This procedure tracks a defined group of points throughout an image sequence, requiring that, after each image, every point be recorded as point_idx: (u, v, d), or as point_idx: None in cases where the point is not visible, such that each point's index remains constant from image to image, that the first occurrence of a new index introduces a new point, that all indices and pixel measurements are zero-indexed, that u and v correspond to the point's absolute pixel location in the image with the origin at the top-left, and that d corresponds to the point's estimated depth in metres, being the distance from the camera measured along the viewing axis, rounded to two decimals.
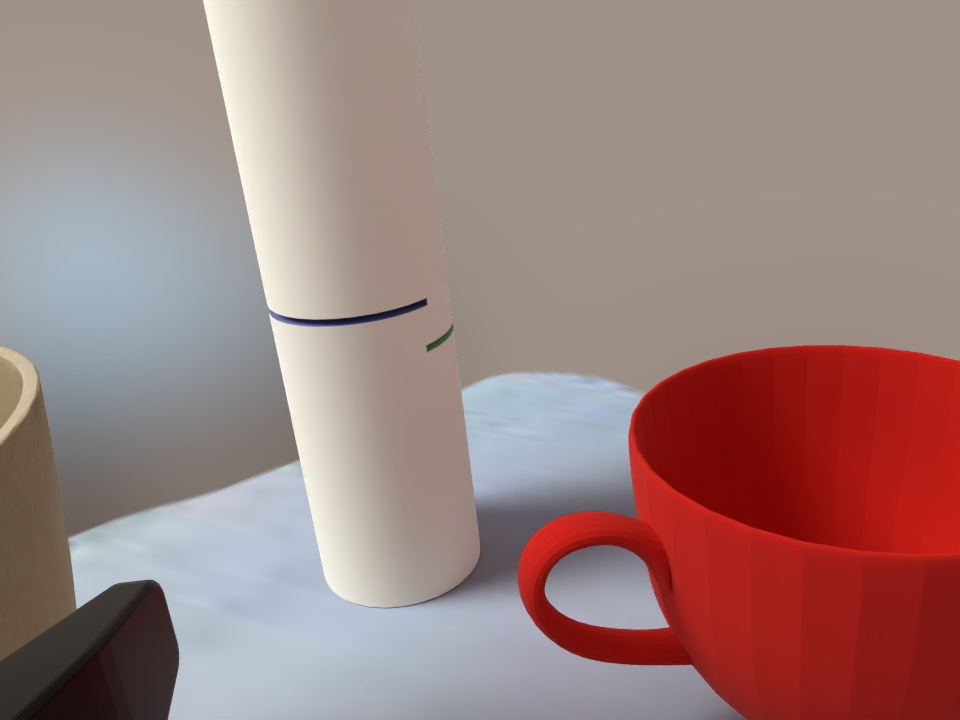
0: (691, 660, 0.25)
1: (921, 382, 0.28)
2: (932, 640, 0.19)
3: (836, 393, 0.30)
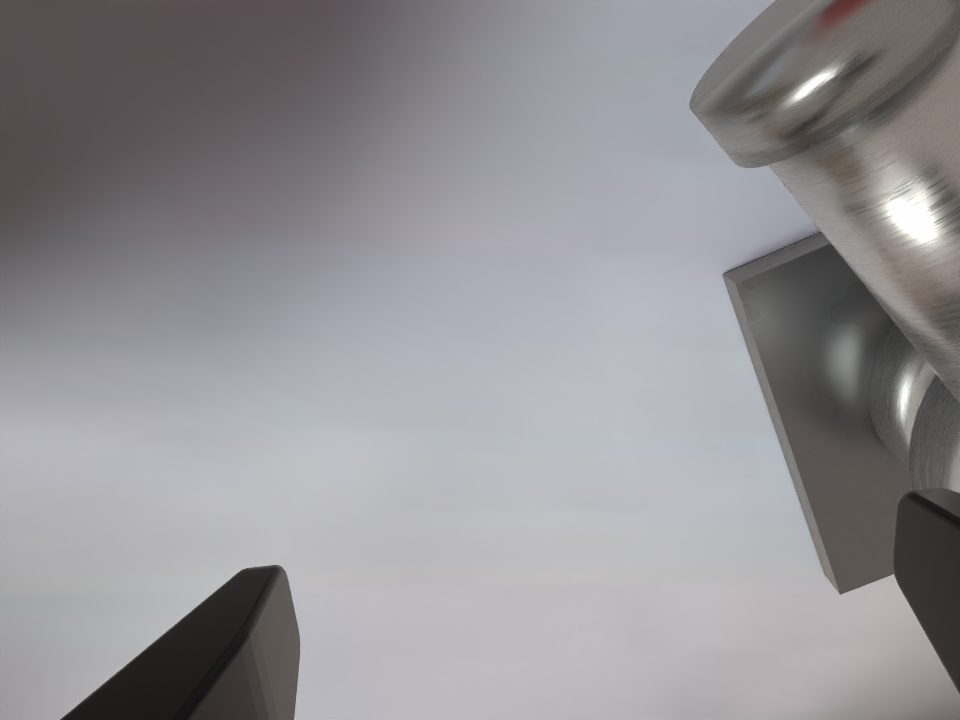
0: None
1: None
2: None
3: None
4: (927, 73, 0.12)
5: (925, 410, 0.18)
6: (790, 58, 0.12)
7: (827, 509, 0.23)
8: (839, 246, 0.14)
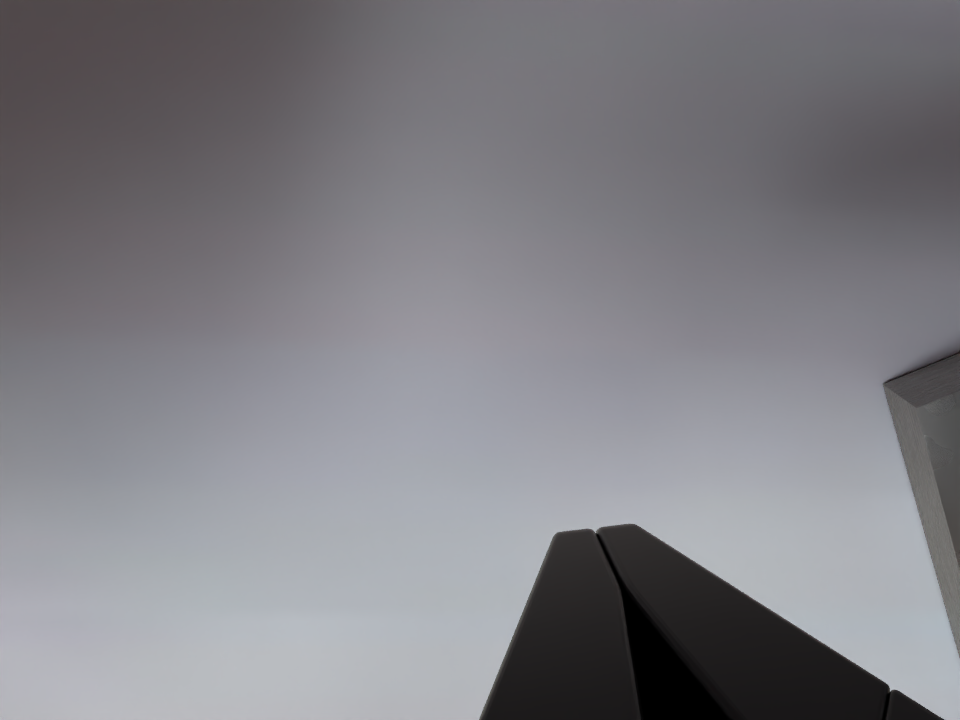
0: None
1: None
2: None
3: None
4: None
5: None
6: None
7: None
8: None
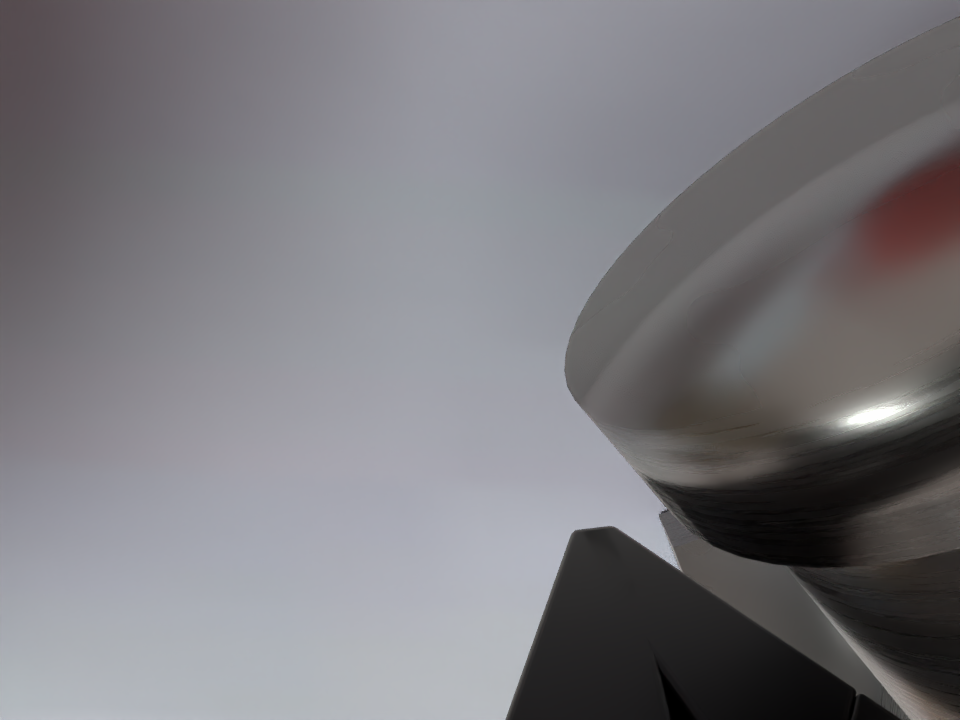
0: None
1: None
2: None
3: None
4: None
5: None
6: (779, 352, 0.04)
7: None
8: (864, 663, 0.07)
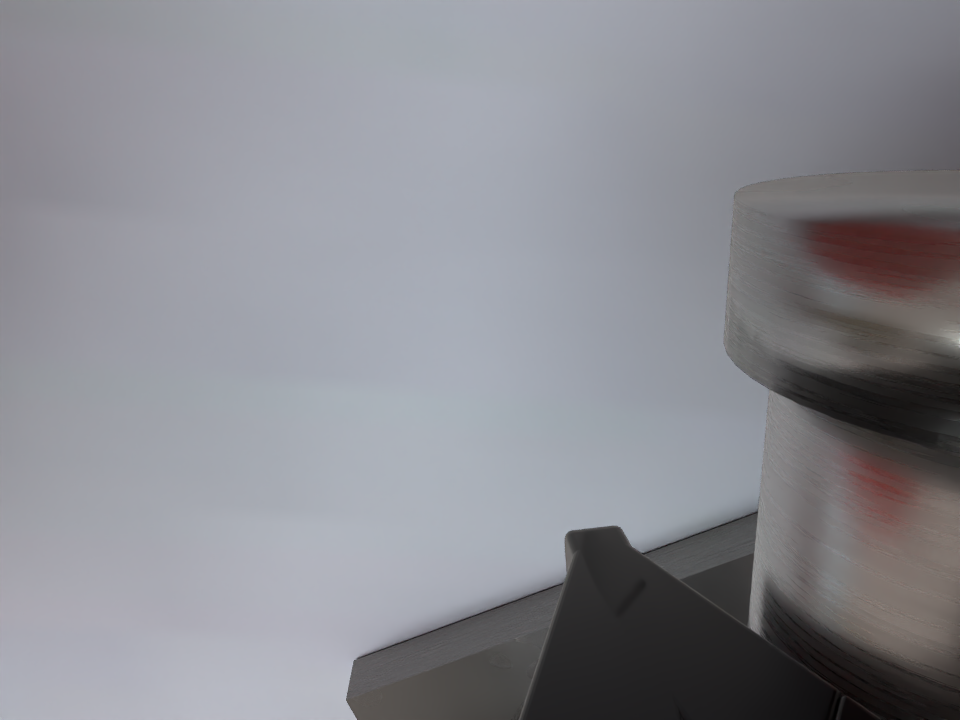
0: None
1: None
2: None
3: None
4: None
5: None
6: None
7: None
8: (770, 626, 0.07)
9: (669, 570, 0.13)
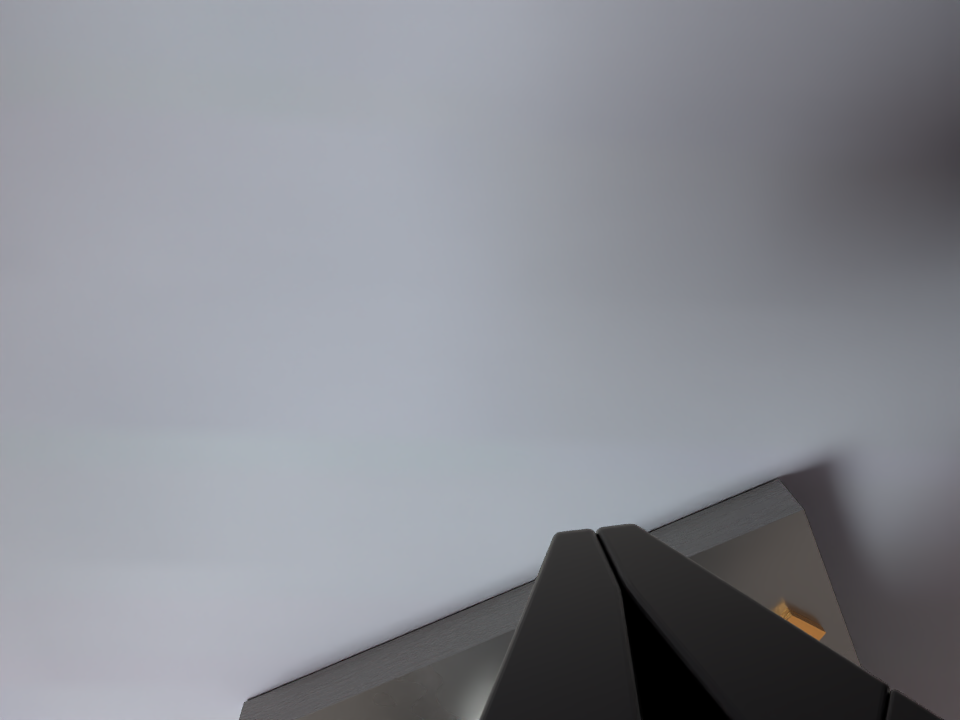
0: None
1: None
2: None
3: None
4: None
5: None
6: None
7: None
8: None
9: None
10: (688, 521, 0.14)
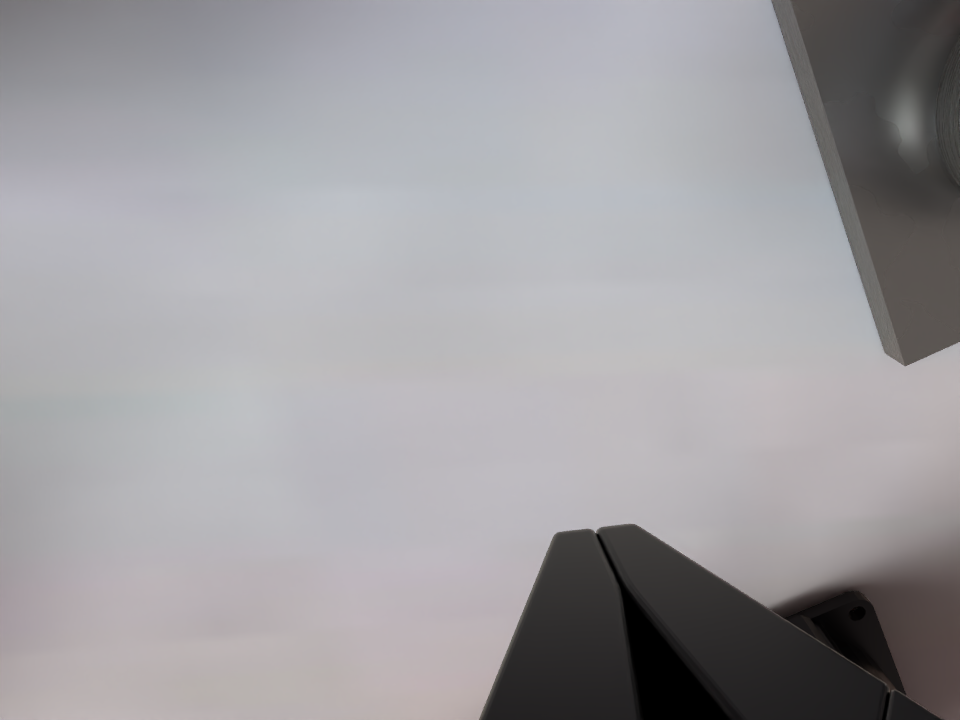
0: None
1: None
2: None
3: None
4: None
5: None
6: None
7: (890, 261, 0.20)
8: None
9: None
10: None
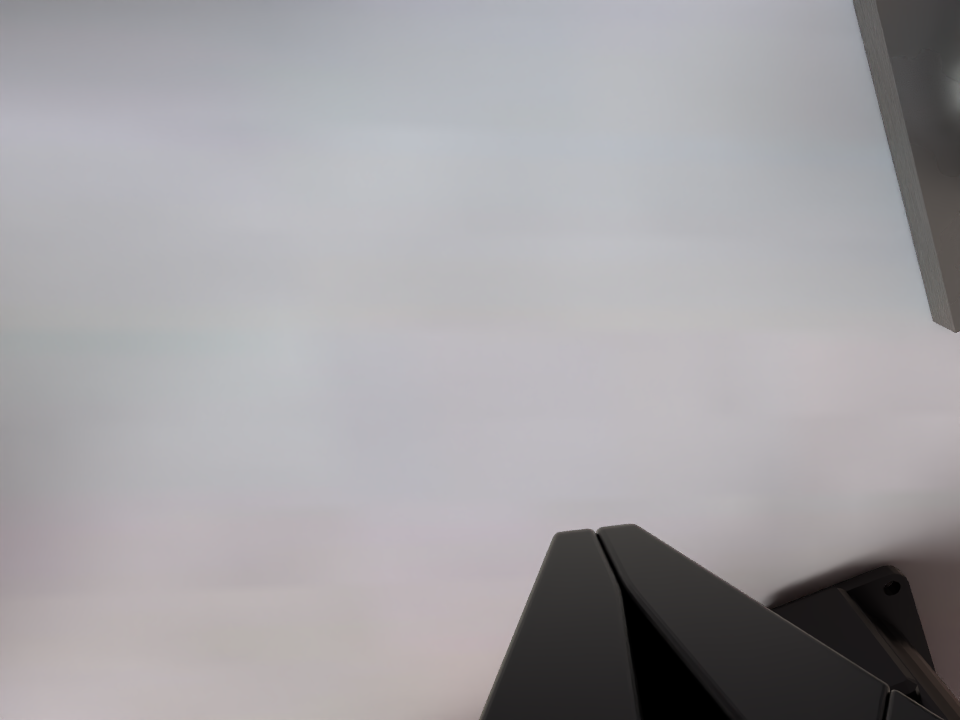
0: None
1: None
2: None
3: None
4: None
5: None
6: None
7: (947, 224, 0.20)
8: None
9: None
10: None
